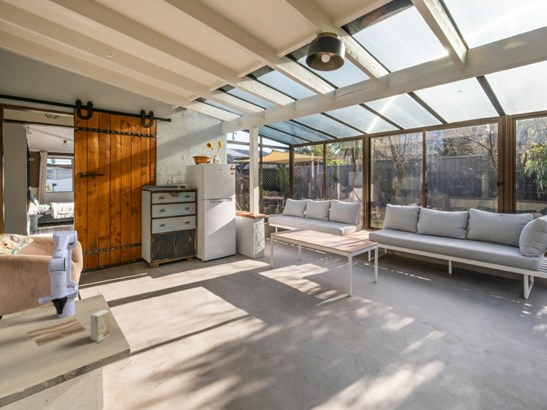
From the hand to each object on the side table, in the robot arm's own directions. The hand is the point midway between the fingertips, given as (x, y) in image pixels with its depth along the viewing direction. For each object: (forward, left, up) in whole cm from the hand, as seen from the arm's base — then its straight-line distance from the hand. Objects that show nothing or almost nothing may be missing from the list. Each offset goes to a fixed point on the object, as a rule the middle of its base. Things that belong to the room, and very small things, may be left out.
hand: (59, 313), depth 129 cm
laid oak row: (-5, -1, -9) cm, 11 cm away
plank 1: (+4, -5, -9) cm, 11 cm away
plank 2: (+4, +4, -9) cm, 11 cm away
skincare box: (+19, +10, -10) cm, 23 cm away
